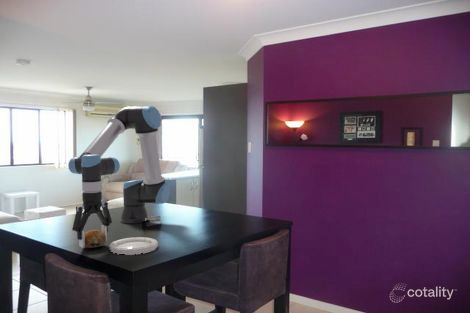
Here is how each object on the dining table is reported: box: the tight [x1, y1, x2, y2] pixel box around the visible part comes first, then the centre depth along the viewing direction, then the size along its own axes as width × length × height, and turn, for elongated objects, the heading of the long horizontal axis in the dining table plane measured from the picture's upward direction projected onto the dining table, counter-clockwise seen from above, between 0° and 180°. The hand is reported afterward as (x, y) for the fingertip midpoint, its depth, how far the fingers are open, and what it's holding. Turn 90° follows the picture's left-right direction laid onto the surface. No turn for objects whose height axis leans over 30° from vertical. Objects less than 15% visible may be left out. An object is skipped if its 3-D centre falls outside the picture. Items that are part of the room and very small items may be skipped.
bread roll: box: [84, 228, 107, 249], centre depth 155 cm, size 10×10×8 cm
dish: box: [109, 236, 159, 256], centre depth 155 cm, size 19×19×2 cm
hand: (93, 243), depth 154 cm, fingers closed on bread roll, 10 cm apart
